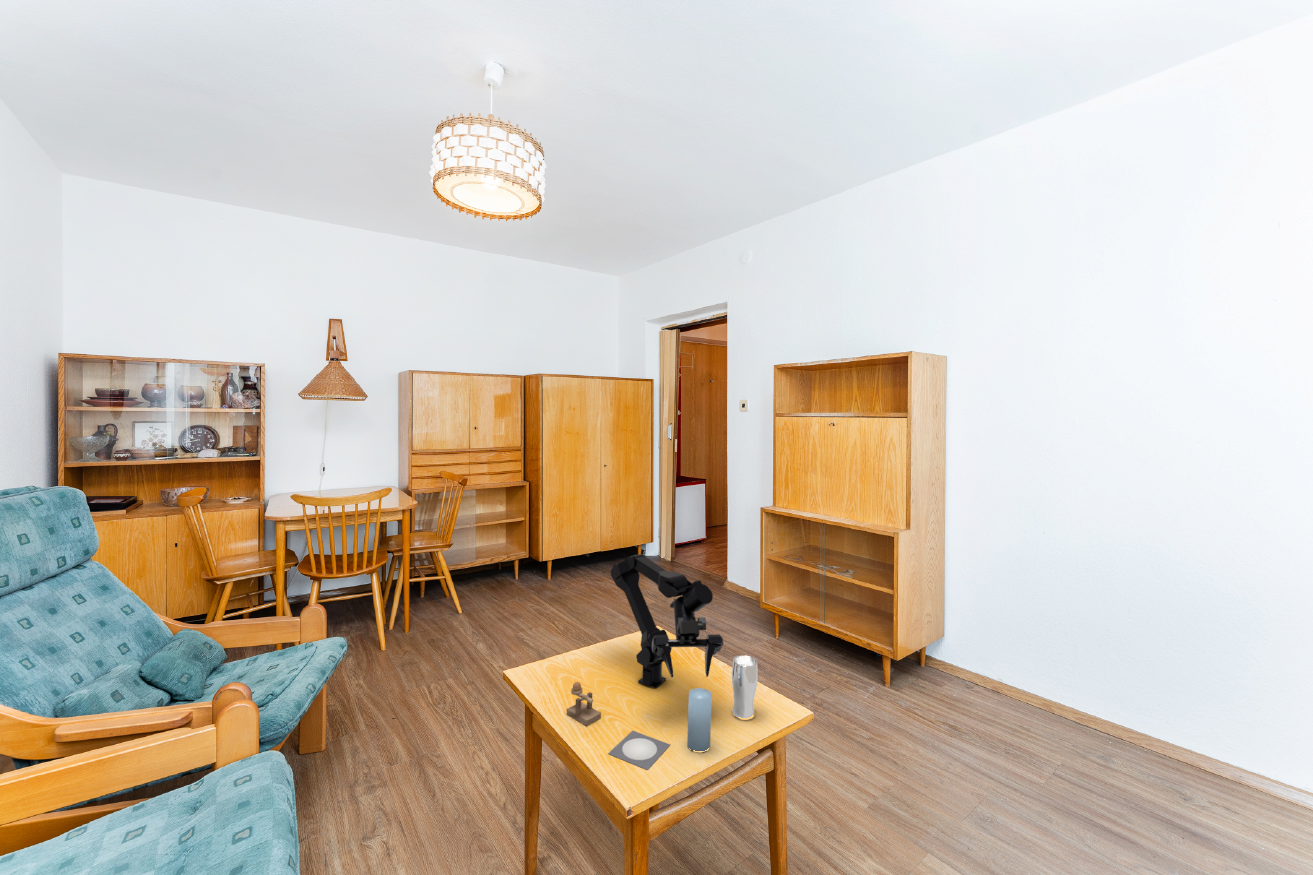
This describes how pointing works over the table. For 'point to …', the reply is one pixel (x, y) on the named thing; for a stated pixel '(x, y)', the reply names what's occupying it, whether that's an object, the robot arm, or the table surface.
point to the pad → (639, 749)
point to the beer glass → (744, 685)
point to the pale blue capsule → (699, 719)
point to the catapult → (583, 707)
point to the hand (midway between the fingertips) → (689, 676)
